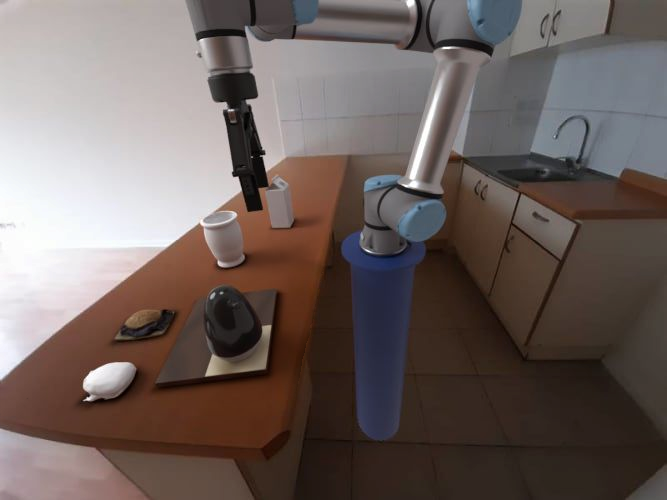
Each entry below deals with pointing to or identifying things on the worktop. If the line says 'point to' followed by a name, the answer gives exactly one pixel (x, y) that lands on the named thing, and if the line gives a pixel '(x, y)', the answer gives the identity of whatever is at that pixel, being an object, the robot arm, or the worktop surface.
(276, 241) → the worktop surface
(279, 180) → the milk carton
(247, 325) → the black egg-shaped ornament
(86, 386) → the garlic
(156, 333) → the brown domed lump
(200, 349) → the cutting board
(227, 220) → the jar
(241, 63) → the robot arm
